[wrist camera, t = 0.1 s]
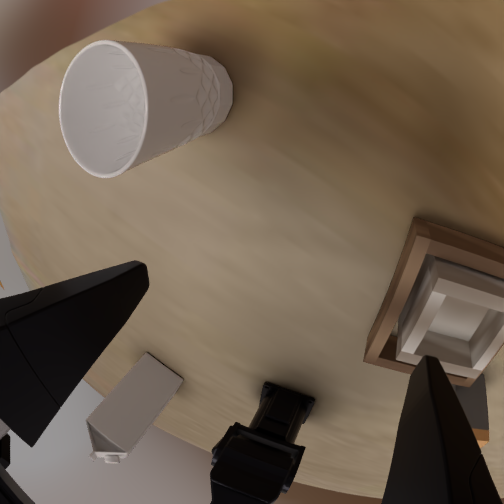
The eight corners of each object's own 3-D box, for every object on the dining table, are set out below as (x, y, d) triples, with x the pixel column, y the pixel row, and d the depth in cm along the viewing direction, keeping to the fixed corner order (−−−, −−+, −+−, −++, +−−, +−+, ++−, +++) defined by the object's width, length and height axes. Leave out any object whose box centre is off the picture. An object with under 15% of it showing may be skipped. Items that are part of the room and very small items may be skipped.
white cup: (230, 35, 18) (131, 14, 10) (251, 133, 21) (164, 165, 13) (149, 66, 21) (50, 75, 13) (168, 149, 25) (76, 187, 17)
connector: (464, 396, 24) (464, 460, 18) (435, 391, 25) (431, 456, 19) (483, 374, 22) (489, 441, 16) (454, 367, 23) (455, 437, 17)
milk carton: (142, 368, 47) (74, 446, 32) (146, 350, 43) (68, 438, 28) (175, 393, 47) (112, 476, 32) (184, 378, 43) (111, 473, 27)
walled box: (467, 363, 22) (470, 405, 18) (367, 337, 26) (359, 379, 22) (530, 258, 16) (552, 296, 12) (413, 217, 19) (419, 250, 15)
